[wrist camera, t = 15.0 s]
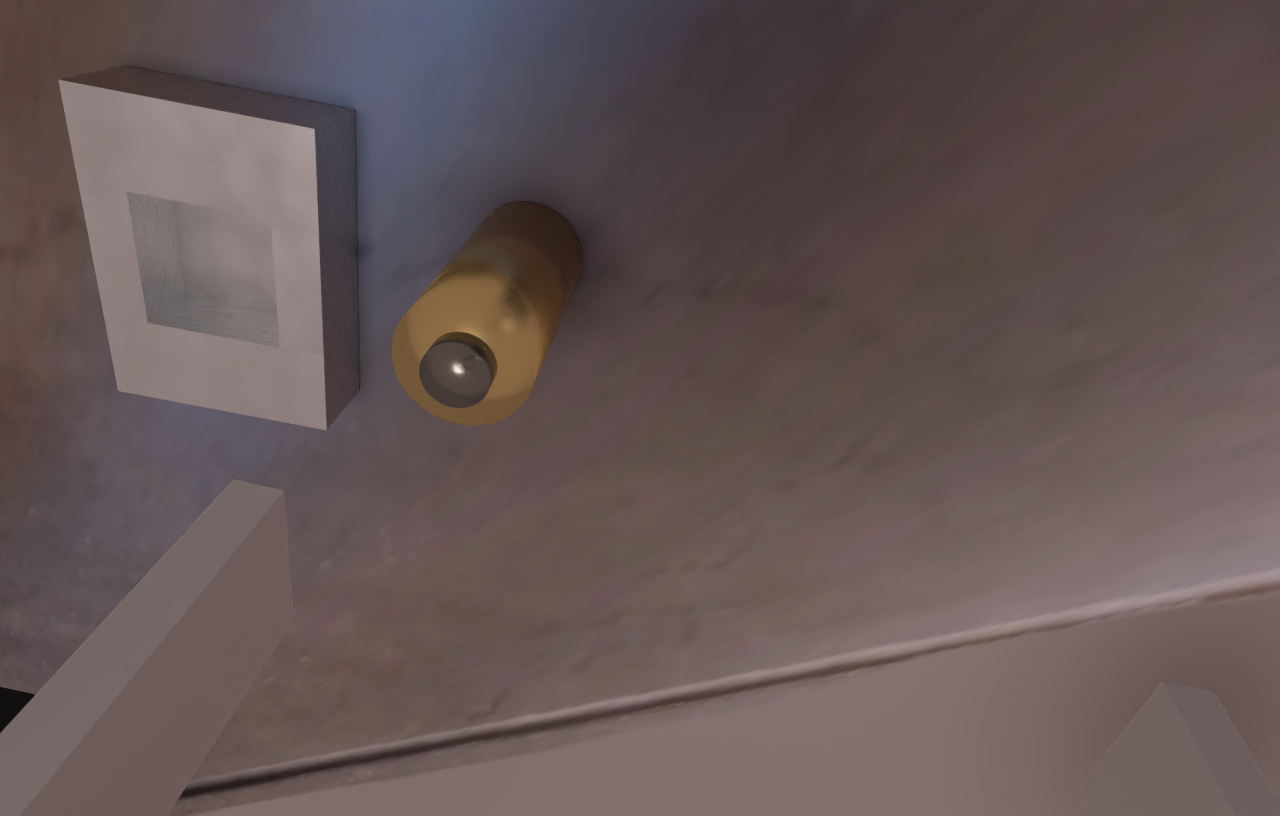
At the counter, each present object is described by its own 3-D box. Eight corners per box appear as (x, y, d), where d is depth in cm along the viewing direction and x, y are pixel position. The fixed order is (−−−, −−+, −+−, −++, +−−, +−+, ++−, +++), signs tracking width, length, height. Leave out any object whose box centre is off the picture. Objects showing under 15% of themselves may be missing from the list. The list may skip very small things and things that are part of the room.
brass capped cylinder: (479, 191, 36) (380, 294, 26) (589, 212, 36) (535, 323, 26) (472, 294, 38) (380, 425, 28) (575, 314, 39) (521, 452, 28)
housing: (124, 65, 35) (58, 79, 31) (355, 109, 35) (314, 128, 31) (168, 353, 42) (118, 390, 38) (359, 389, 42) (326, 430, 38)
